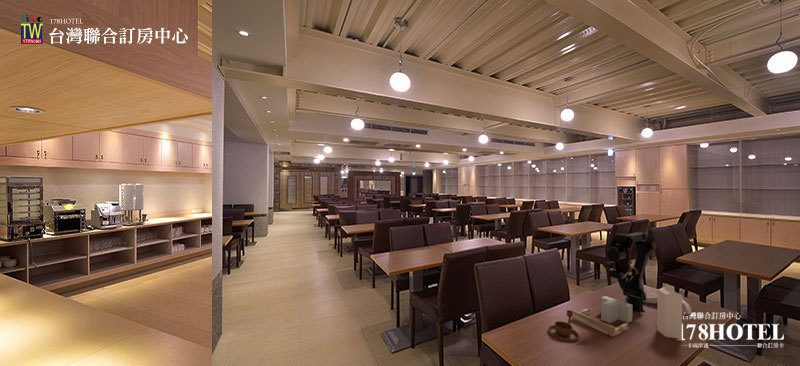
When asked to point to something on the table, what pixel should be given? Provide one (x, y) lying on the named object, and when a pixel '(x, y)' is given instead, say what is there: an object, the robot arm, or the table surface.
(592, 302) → the table surface
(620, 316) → the t block
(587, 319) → the birch bay
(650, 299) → the spoon rest
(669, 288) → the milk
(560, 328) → the brown cup and saucer
